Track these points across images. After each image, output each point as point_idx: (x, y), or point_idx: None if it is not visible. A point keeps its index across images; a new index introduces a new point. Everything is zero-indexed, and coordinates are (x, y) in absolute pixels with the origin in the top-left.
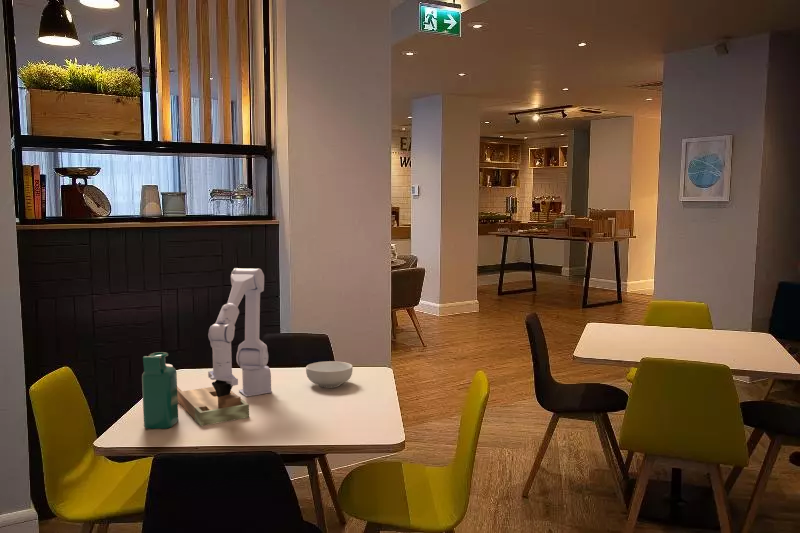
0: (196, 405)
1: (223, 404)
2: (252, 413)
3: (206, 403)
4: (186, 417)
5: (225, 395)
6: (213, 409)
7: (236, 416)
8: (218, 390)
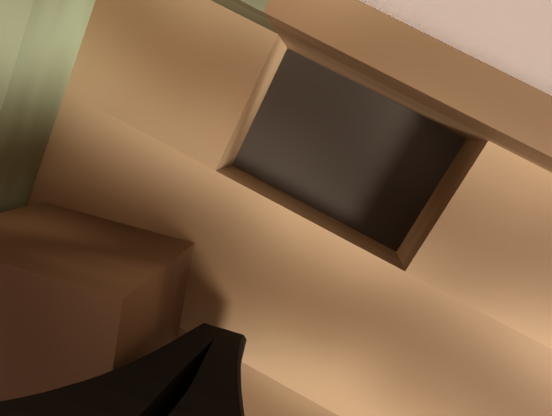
0: (342, 51)
1: (39, 236)
2: None
3: (477, 344)
4: (460, 30)
5: None
6: (241, 224)
7: None
8: (114, 409)
